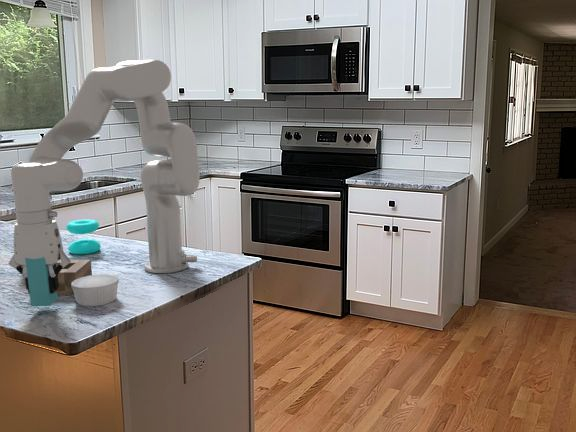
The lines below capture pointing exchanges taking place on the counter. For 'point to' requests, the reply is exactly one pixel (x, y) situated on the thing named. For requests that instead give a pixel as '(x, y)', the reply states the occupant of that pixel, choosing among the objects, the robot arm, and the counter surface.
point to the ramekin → (95, 289)
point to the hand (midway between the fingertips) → (43, 291)
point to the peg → (39, 282)
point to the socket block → (72, 275)
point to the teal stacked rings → (84, 244)
